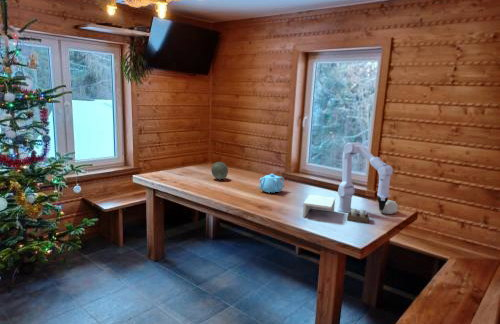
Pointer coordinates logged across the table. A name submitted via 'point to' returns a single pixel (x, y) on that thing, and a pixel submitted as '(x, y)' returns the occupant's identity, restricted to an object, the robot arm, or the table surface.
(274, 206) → the table surface
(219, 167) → the cantaloupe
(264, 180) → the decorative pot
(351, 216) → the walnut tray
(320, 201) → the white shelf
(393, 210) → the grey rounded lump
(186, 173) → the table surface
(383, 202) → the robot arm
